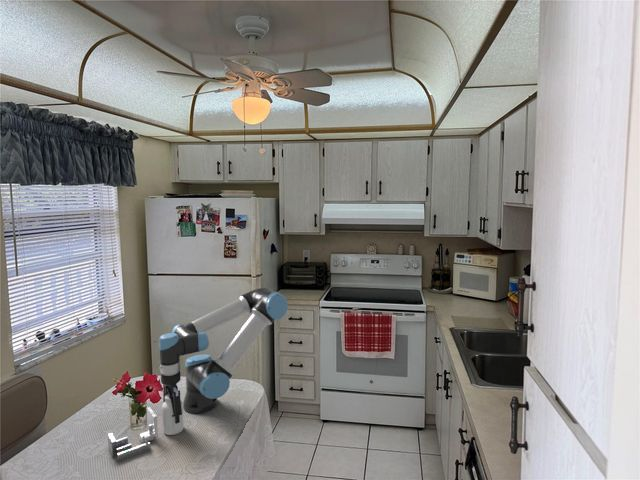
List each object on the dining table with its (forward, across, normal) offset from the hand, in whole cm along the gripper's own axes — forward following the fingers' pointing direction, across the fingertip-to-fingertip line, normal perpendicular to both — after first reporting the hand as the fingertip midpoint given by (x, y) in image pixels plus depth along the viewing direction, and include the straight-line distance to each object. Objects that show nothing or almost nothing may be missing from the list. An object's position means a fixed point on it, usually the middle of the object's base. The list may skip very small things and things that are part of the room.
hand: (173, 425), depth 169 cm
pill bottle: (+2, 0, 0) cm, 2 cm away
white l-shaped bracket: (+2, +2, -10) cm, 10 cm away
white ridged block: (+2, +2, -17) cm, 18 cm away
